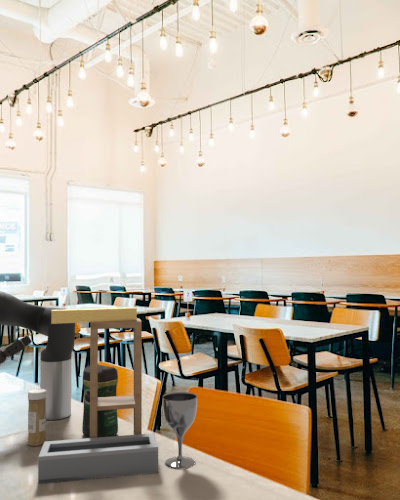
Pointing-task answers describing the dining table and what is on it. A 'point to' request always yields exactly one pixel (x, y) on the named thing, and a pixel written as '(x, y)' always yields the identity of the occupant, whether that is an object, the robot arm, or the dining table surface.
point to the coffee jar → (106, 388)
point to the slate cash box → (97, 458)
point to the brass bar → (93, 315)
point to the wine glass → (179, 422)
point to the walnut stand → (135, 399)
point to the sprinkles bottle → (37, 417)
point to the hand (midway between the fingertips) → (26, 341)
